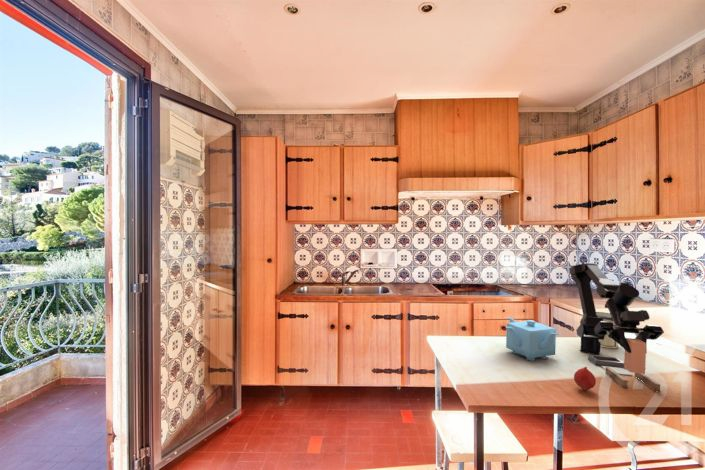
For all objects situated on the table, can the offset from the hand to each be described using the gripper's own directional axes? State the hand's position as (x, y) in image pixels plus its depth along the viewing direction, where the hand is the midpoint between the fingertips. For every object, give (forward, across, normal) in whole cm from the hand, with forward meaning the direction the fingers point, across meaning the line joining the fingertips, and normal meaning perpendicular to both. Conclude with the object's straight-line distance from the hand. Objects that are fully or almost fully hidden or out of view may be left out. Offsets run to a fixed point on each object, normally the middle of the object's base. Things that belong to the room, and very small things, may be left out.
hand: (637, 353), depth 107 cm
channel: (+6, 0, +10) cm, 12 cm away
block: (+4, 0, +6) cm, 7 cm away
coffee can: (-23, +11, +40) cm, 48 cm away
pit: (-5, 0, +21) cm, 22 cm away
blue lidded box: (-5, -28, +22) cm, 36 cm away
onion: (+14, -19, +2) cm, 24 cm away
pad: (0, 0, +16) cm, 16 cm away
